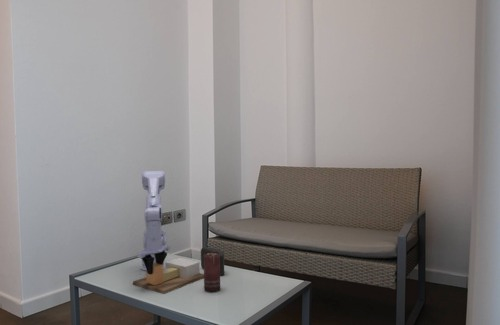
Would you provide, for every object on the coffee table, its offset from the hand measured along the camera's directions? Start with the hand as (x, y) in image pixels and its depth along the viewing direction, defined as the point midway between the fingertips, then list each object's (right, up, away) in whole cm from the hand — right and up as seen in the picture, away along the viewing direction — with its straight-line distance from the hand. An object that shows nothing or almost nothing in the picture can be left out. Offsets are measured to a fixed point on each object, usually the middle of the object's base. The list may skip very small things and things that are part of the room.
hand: (154, 272), depth 159 cm
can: (+23, -6, -4) cm, 24 cm away
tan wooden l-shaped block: (+3, -4, +4) cm, 7 cm away
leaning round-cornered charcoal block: (+21, -5, +18) cm, 28 cm away
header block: (+9, -4, +12) cm, 16 cm away
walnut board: (+5, -5, +7) cm, 10 cm away
